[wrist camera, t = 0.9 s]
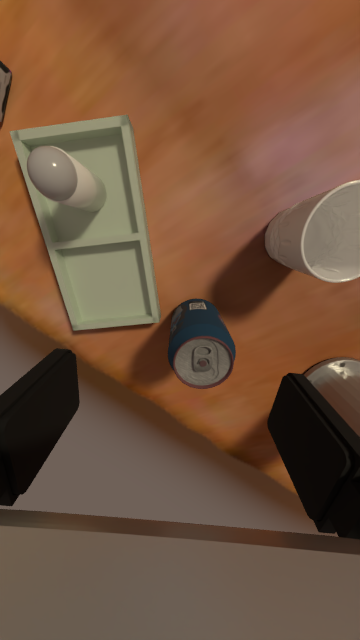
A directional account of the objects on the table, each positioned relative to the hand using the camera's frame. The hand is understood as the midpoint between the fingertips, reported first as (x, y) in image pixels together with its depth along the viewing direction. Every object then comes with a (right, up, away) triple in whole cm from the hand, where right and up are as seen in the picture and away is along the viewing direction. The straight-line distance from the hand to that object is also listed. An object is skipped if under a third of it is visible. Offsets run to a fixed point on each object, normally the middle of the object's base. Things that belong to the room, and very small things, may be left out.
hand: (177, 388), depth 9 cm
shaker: (-10, +18, +15) cm, 25 cm away
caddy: (-10, +13, +17) cm, 24 cm away
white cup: (+14, +14, +17) cm, 26 cm away
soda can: (+2, +3, +22) cm, 22 cm away
